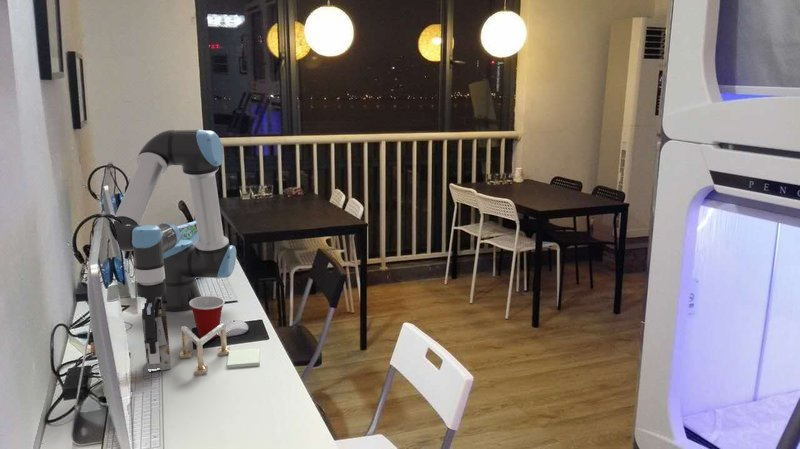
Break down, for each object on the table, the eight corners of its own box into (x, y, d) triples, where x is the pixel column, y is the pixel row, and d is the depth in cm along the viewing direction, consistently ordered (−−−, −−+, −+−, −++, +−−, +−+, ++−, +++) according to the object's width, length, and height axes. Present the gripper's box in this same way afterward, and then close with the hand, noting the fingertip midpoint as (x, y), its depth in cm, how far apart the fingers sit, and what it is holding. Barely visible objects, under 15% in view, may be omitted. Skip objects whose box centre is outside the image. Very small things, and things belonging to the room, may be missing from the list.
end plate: (229, 353, 191) (229, 350, 190) (260, 351, 192) (259, 348, 192) (227, 368, 181) (227, 365, 181) (259, 365, 183) (259, 362, 183)
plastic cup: (217, 344, 197) (214, 307, 195) (185, 341, 199) (182, 305, 197) (232, 331, 208) (230, 296, 205) (202, 328, 210) (199, 294, 207)
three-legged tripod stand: (181, 354, 190) (178, 325, 188) (230, 350, 193) (228, 321, 191) (174, 376, 176) (171, 345, 174) (227, 372, 179) (225, 341, 177)
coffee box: (171, 369, 180) (166, 315, 177) (147, 373, 178) (142, 319, 174) (169, 356, 188) (164, 305, 185) (146, 360, 186) (141, 308, 182)
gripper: (144, 270, 187) (150, 340, 192) (128, 295, 166) (136, 373, 171) (170, 268, 189) (176, 338, 194) (158, 293, 167) (165, 371, 172)
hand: (157, 355), depth 182 cm, fingers closed on coffee box, 10 cm apart
